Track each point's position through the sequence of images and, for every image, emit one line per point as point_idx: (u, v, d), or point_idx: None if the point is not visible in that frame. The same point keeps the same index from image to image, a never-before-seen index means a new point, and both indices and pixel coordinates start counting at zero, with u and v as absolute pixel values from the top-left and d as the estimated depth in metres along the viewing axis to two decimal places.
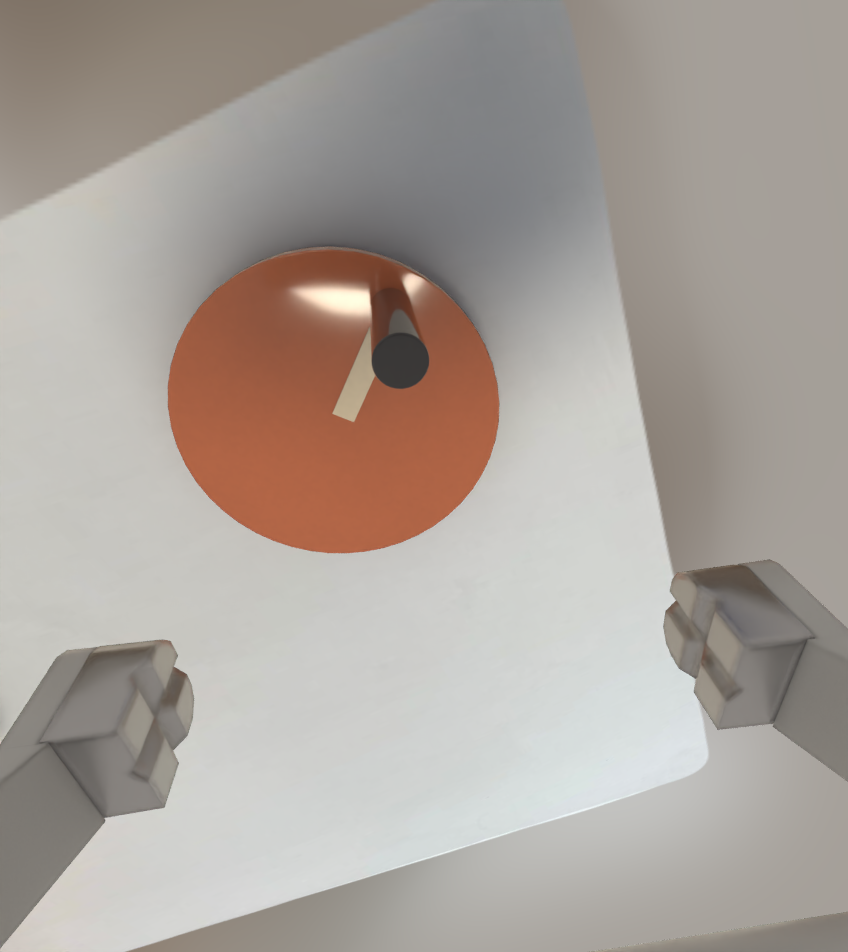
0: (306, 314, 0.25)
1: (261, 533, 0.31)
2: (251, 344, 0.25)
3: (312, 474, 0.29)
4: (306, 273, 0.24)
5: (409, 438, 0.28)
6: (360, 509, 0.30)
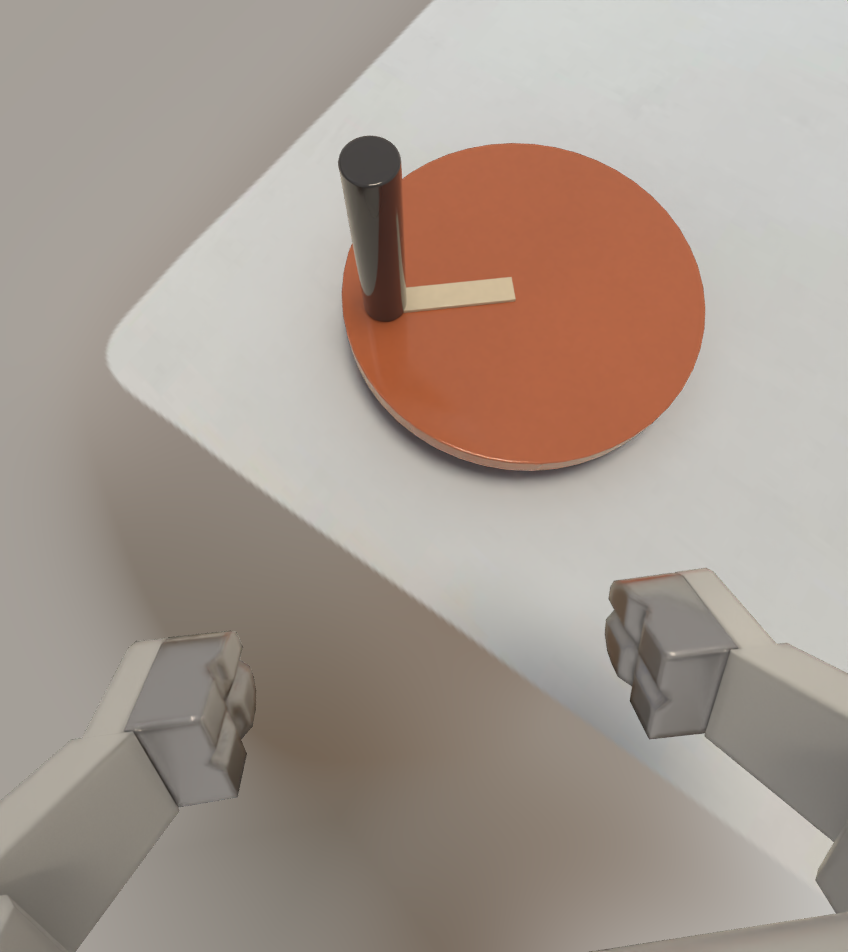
0: (434, 367, 0.24)
1: (702, 301, 0.25)
2: (494, 400, 0.23)
3: (595, 286, 0.25)
4: (398, 384, 0.23)
5: (495, 224, 0.26)
6: (604, 225, 0.26)
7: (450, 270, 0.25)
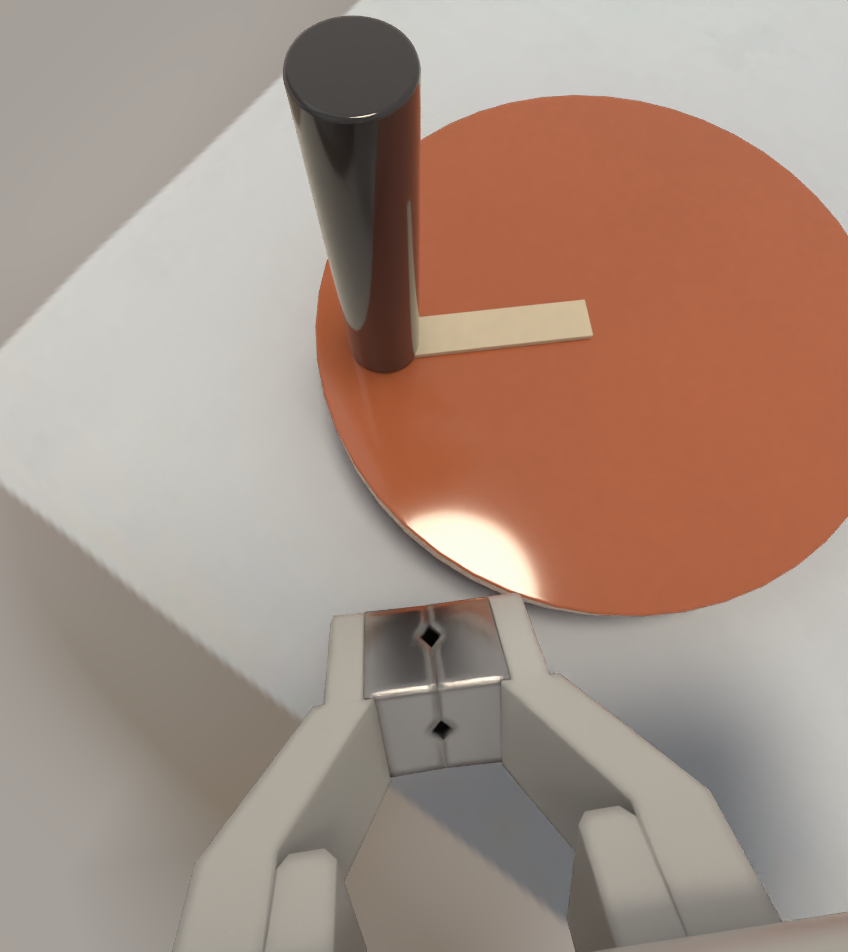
0: (465, 448, 0.15)
1: None
2: (564, 505, 0.14)
3: (716, 314, 0.16)
4: (406, 477, 0.14)
5: (555, 216, 0.17)
6: (723, 218, 0.17)
7: (487, 289, 0.16)
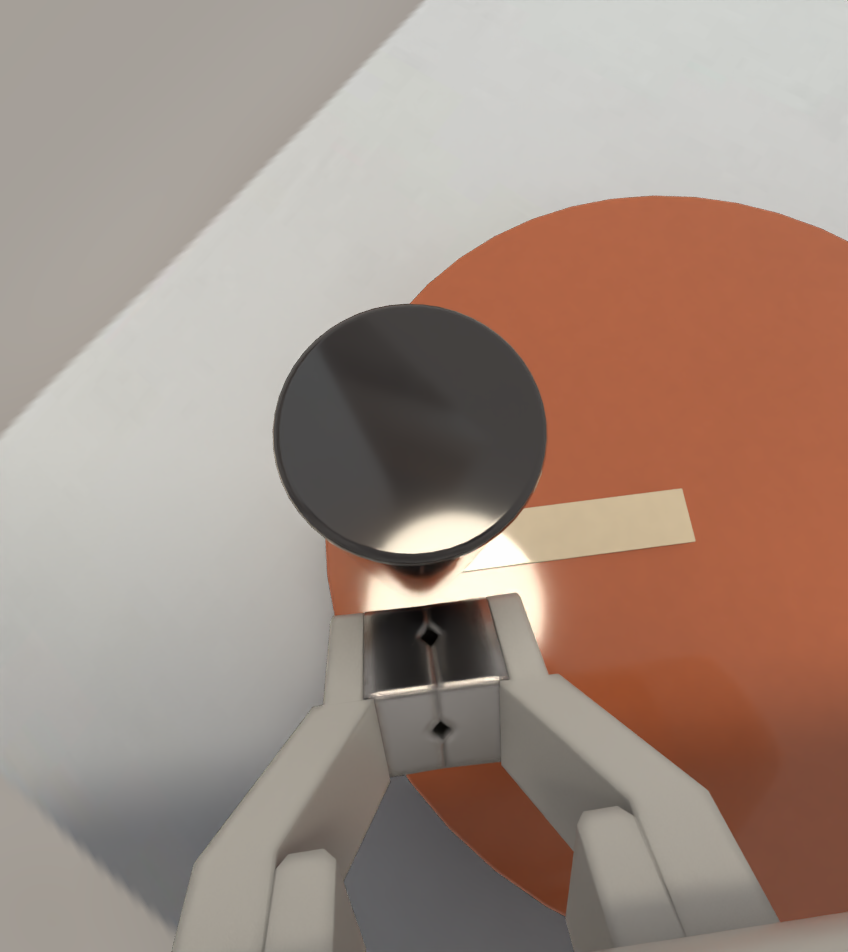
0: None
1: None
2: None
3: None
4: None
5: (636, 365, 0.13)
6: None
7: (551, 471, 0.12)
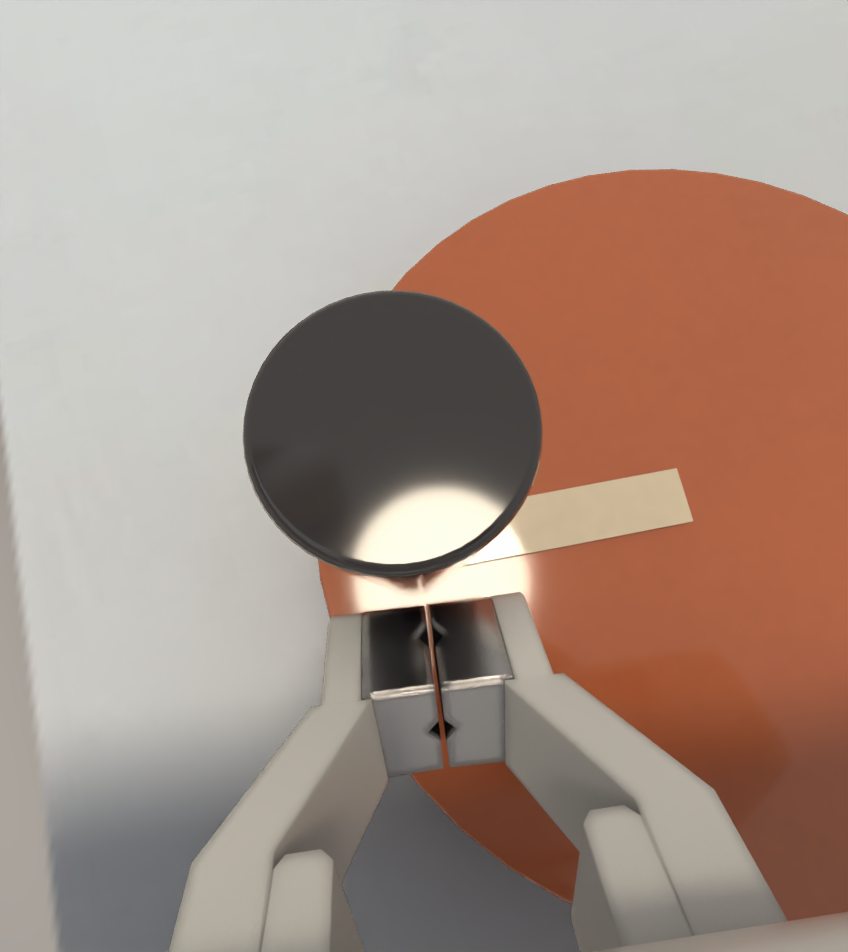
0: None
1: None
2: None
3: None
4: None
5: (624, 345, 0.12)
6: (845, 333, 0.12)
7: (543, 458, 0.12)
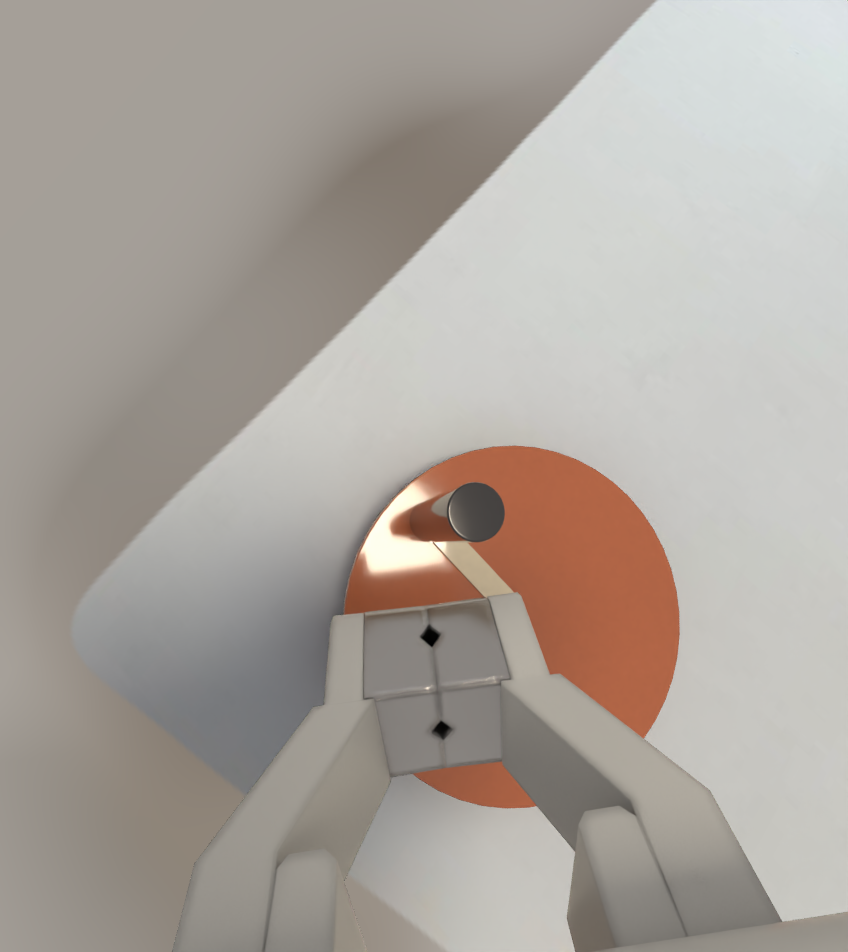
0: (404, 602, 0.25)
1: None
2: None
3: (565, 673, 0.26)
4: (369, 585, 0.24)
5: (561, 554, 0.26)
6: (623, 640, 0.26)
7: (495, 550, 0.26)
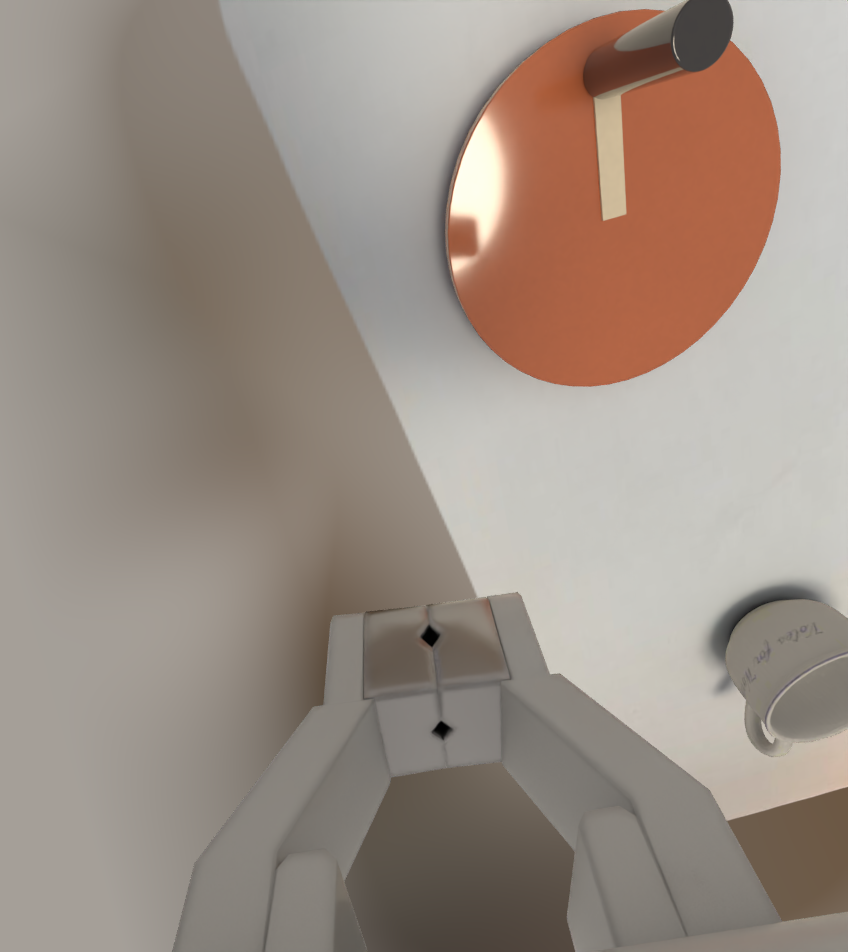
0: (534, 142, 0.25)
1: (596, 383, 0.31)
2: (503, 209, 0.26)
3: (613, 295, 0.29)
4: (515, 103, 0.24)
5: (686, 191, 0.26)
6: (673, 300, 0.29)
7: (638, 146, 0.25)
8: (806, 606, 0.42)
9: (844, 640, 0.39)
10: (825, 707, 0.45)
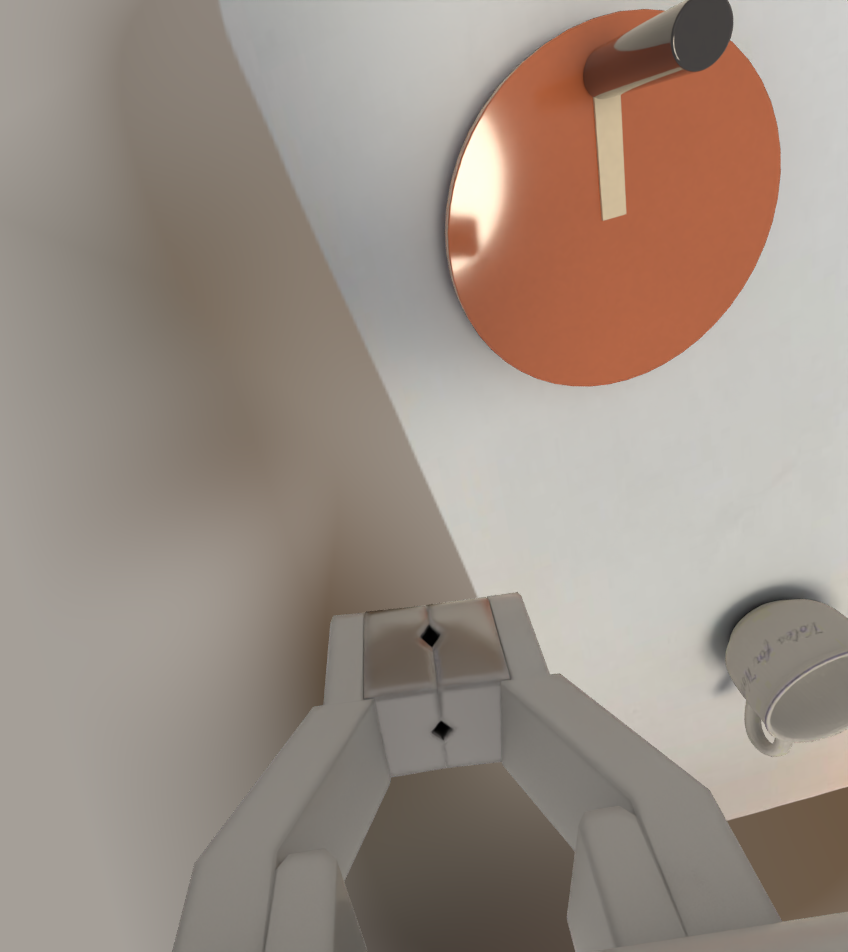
0: (534, 142, 0.25)
1: (596, 383, 0.31)
2: (503, 209, 0.26)
3: (613, 295, 0.29)
4: (515, 103, 0.24)
5: (686, 191, 0.26)
6: (673, 300, 0.29)
7: (638, 146, 0.25)
8: (806, 606, 0.42)
9: (844, 640, 0.39)
10: (825, 707, 0.45)
